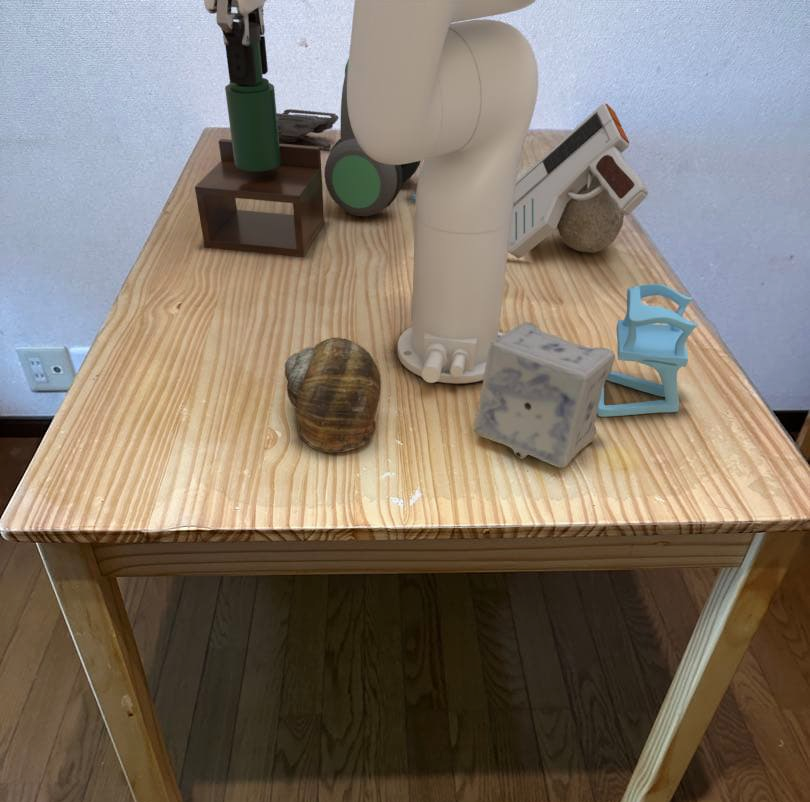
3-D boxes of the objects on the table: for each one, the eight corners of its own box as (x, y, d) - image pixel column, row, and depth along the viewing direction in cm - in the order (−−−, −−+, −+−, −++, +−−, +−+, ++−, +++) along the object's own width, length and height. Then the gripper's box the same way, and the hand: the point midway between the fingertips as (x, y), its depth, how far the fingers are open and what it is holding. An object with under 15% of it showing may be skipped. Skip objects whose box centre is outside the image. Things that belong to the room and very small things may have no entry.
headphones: (361, 172, 127) (358, 28, 113) (426, 180, 125) (431, 34, 111) (321, 216, 114) (312, 60, 100) (393, 226, 112) (394, 67, 98)
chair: (679, 425, 79) (714, 316, 70) (596, 416, 80) (621, 307, 71) (674, 384, 84) (706, 278, 76) (596, 375, 85) (618, 270, 77)
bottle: (273, 173, 100) (259, 32, 90) (228, 169, 101) (209, 29, 90) (286, 157, 105) (275, 21, 94) (243, 154, 105) (227, 18, 95)
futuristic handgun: (525, 299, 104) (494, 215, 110) (656, 198, 92) (614, 108, 98) (513, 293, 102) (482, 207, 108) (645, 188, 91) (603, 97, 96)
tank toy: (313, 117, 129) (314, 152, 131) (343, 112, 135) (344, 145, 138) (253, 113, 133) (256, 146, 136) (285, 107, 140) (288, 140, 143)
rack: (303, 257, 105) (297, 175, 98) (204, 247, 107) (191, 166, 99) (324, 224, 113) (320, 146, 105) (231, 215, 114) (220, 138, 107)
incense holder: (598, 435, 77) (621, 341, 70) (562, 479, 72) (582, 383, 65) (510, 402, 81) (523, 310, 74) (470, 442, 76) (479, 347, 69)
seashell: (292, 389, 82) (285, 319, 77) (381, 389, 82) (380, 320, 77) (282, 455, 74) (273, 383, 69) (380, 455, 74) (380, 383, 69)
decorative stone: (547, 233, 111) (558, 159, 104) (606, 234, 111) (621, 160, 104) (557, 265, 104) (569, 188, 97) (620, 266, 104) (637, 189, 97)
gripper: (221, -125, 90) (242, 59, 102) (164, -111, 78) (195, 95, 91) (285, -122, 89) (297, 63, 101) (236, -108, 77) (257, 99, 90)
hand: (249, 76), depth 96 cm, fingers closed on bottle, 3 cm apart
